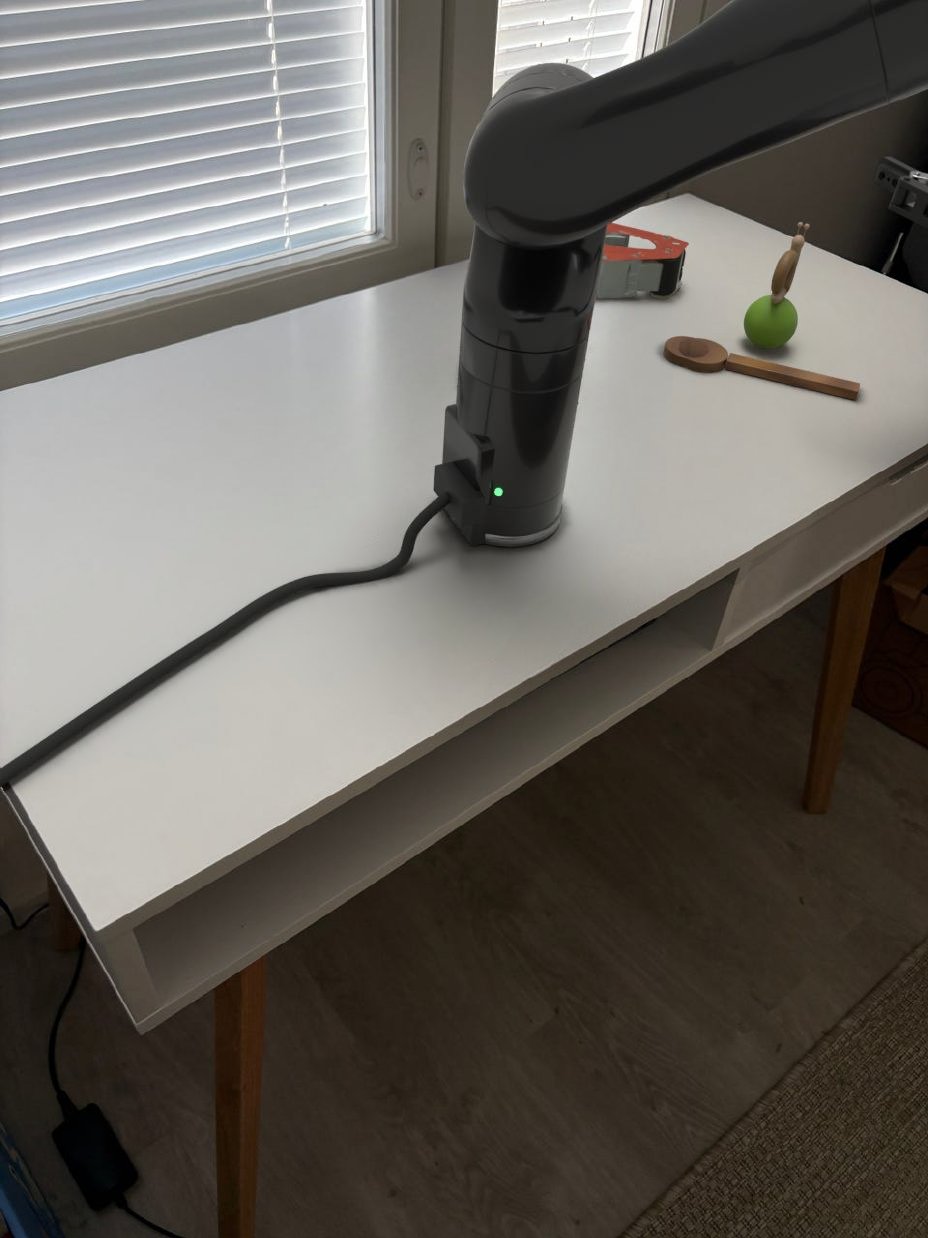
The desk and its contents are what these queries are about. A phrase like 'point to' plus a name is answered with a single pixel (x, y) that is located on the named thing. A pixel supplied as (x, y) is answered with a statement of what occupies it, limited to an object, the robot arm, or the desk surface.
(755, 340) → the snail figurine
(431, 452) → the desk surface
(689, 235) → the desk surface
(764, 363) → the spoon
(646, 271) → the tape dispenser
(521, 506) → the robot arm
